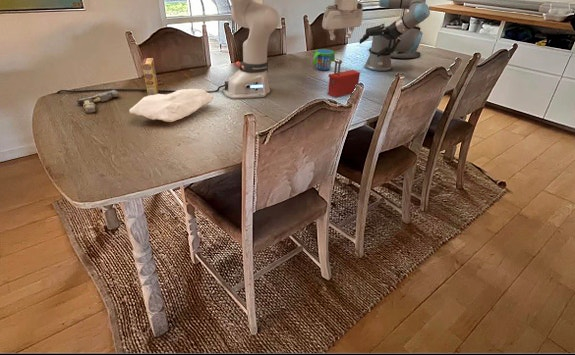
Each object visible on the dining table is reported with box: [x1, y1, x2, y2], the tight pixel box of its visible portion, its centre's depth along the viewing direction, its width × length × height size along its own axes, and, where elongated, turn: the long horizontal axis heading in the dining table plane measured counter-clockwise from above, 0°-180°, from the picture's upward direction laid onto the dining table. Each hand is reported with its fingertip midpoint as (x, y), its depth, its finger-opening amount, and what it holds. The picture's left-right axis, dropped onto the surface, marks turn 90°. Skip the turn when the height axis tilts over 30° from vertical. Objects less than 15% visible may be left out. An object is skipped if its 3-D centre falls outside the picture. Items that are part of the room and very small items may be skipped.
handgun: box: [76, 90, 120, 114], centre depth 155 cm, size 3×18×15 cm
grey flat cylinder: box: [368, 47, 421, 59], centre depth 249 cm, size 35×35×9 cm
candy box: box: [141, 57, 160, 96], centre depth 163 cm, size 9×4×15 cm, turn 13°
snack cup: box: [312, 48, 336, 71], centre depth 209 cm, size 16×10×10 cm
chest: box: [327, 74, 361, 98], centre depth 176 cm, size 15×5×9 cm, turn 125°
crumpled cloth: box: [129, 88, 214, 123], centre depth 147 cm, size 24×35×9 cm
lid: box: [328, 58, 361, 80], centre depth 171 cm, size 16×5×8 cm, turn 125°
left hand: (340, 38), depth 162 cm, fingers open, 8 cm apart
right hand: (369, 48), depth 199 cm, fingers open, 13 cm apart
